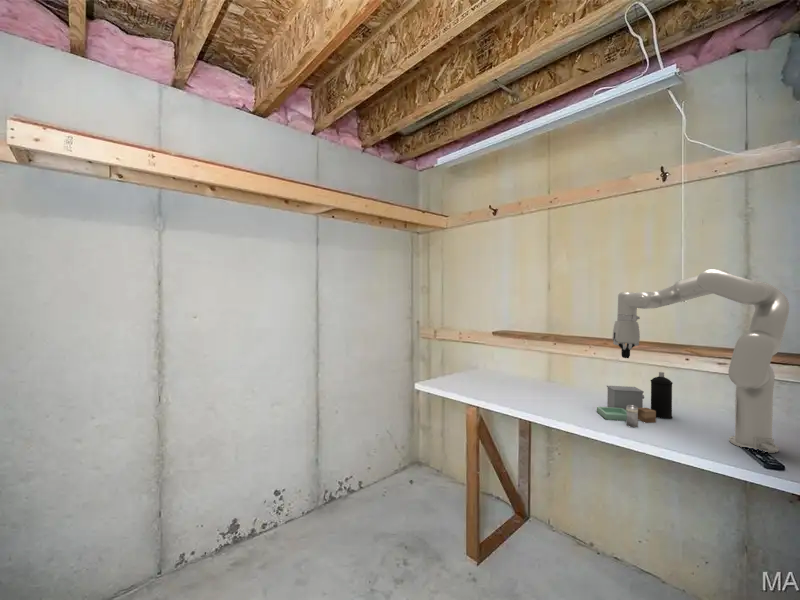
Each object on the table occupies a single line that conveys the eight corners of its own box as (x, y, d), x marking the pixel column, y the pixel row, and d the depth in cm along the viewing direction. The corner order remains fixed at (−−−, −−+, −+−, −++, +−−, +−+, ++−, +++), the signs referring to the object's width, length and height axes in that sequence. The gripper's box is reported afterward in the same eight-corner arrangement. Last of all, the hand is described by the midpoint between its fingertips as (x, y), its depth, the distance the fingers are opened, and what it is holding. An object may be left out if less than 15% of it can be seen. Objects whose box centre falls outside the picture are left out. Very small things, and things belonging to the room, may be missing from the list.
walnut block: (655, 422, 151) (655, 411, 151) (645, 423, 150) (645, 411, 150) (646, 418, 156) (646, 407, 156) (636, 418, 155) (636, 407, 155)
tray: (633, 421, 152) (633, 415, 152) (606, 419, 154) (606, 414, 154) (622, 413, 163) (622, 408, 163) (596, 411, 164) (596, 406, 164)
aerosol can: (676, 419, 154) (676, 374, 154) (655, 418, 156) (656, 373, 156) (666, 413, 162) (666, 371, 162) (646, 412, 164) (646, 370, 164)
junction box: (647, 414, 161) (648, 391, 161) (613, 412, 164) (614, 389, 164) (638, 408, 170) (638, 386, 170) (606, 406, 172) (606, 385, 172)
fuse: (639, 427, 144) (640, 407, 144) (628, 427, 145) (629, 406, 145) (635, 424, 148) (635, 404, 148) (624, 423, 149) (624, 403, 149)
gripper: (640, 318, 165) (638, 357, 165) (606, 317, 167) (604, 355, 168) (648, 319, 158) (647, 360, 158) (613, 318, 160) (611, 358, 160)
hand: (625, 357), depth 163 cm, fingers closed
